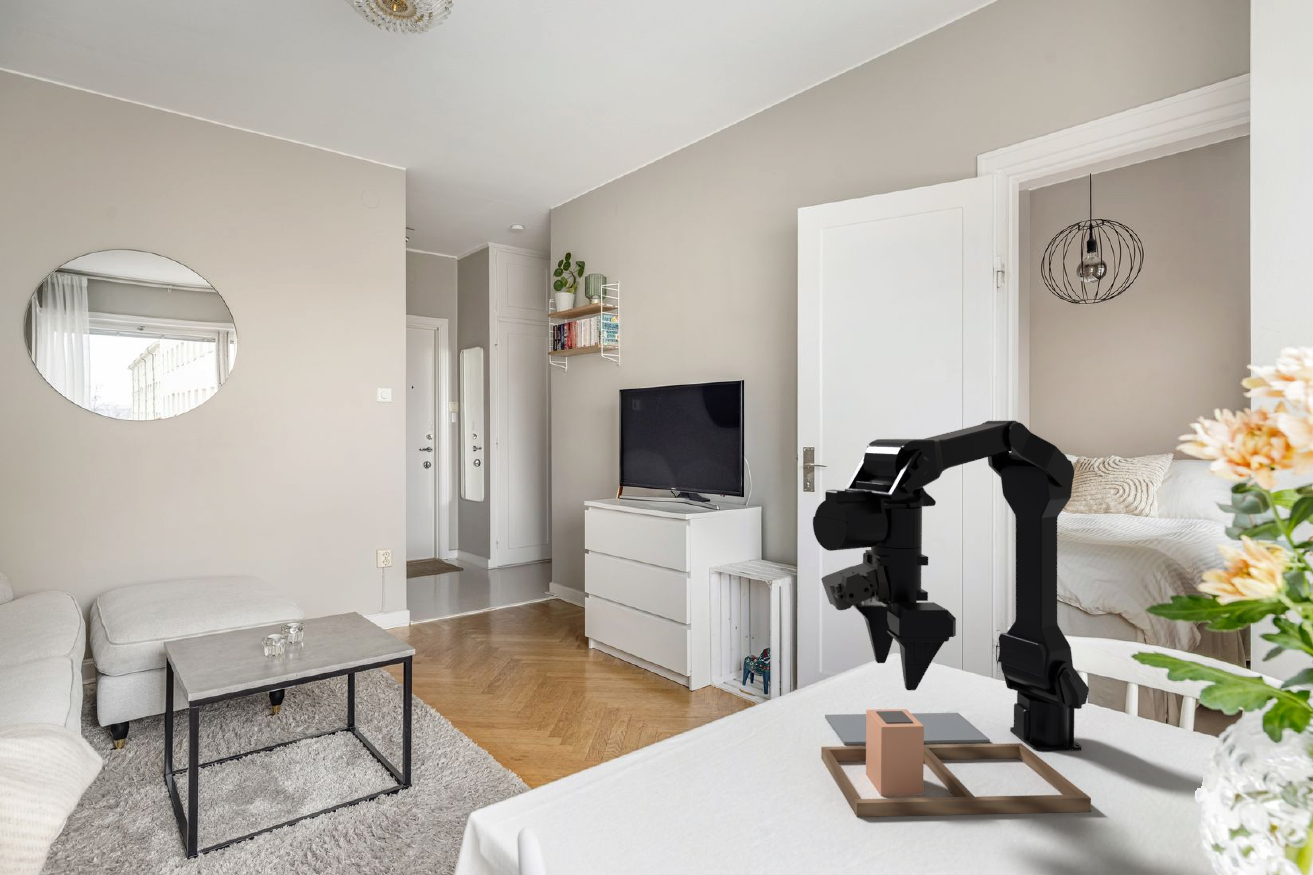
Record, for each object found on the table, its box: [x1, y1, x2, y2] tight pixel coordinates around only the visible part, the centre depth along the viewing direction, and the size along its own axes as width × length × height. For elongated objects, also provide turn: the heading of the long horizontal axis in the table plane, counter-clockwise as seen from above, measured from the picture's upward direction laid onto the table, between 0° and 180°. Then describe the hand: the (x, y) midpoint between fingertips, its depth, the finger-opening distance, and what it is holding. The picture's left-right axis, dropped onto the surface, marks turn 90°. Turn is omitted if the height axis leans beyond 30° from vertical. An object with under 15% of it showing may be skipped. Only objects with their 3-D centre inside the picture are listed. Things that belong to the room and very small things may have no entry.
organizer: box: [820, 742, 1092, 818], centre depth 84 cm, size 26×14×2 cm, turn 93°
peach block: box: [865, 708, 925, 797], centre depth 84 cm, size 5×5×8 cm
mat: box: [824, 712, 991, 746], centre depth 99 cm, size 20×9×1 cm, turn 93°
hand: (894, 675), depth 84 cm, fingers open, 9 cm apart
